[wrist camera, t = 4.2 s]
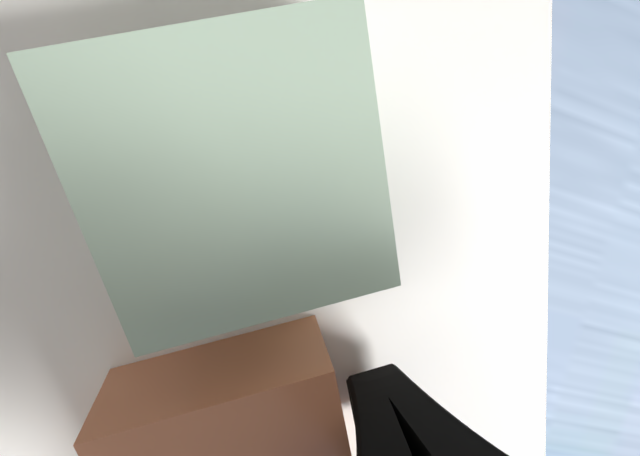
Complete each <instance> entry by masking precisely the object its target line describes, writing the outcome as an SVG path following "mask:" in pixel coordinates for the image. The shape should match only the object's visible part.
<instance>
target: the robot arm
mask: <svg viewBox="0 0 640 456" xmlns="http://www.w3.org/2000/svg"><path fill="white" fill-rule="evenodd" d="M346 383H347V388H348V393H349V398H350V403H351V409H352V414H353V419H354V424H355V431H356V453H357V455H356V456H509V455H507V454H506V453H504V452H503V451H501V450H500V449H498V448H497V447H495V446H494V445H493V444H491V443H490V442H488V441H487V440H486V439H484V438H483V437H481V436H480V435H479V434H477V433H476V432H474V431H473V430H472V429H470V428H469V427H468V426H466V425H465V424H464V423H462V422H461V421H460V420H459V419H457V418H456V417H455V416H454V415H452V414H451V413H450V412H449V411H447V410H446V409H445V408H444V407H442V406H441V405H440V404H439V403H437V402H436V401H435V400H434V399H433V398H431V397H430V396H429V395H428V394H427V393H426V392H424V391H423V390H422V389H421V388H420V387H419V386H418V385H416V384H415V383H414V382H413V381H412V380H411V379H410V378H409V377H408V376H407V375H406V374H404V373H403V372H402V371H401V370H400V369H399V368H398V367H397V366H396V365H394V364H388V365H385V366H381V367H378V368H374V369H371V370H368V371H364V372H361V373H357V374H354V375H350V376H349V377H348V379H347V380H346Z"/></svg>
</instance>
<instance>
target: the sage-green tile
mask: <svg viewBox="0 0 640 456" xmlns="http://www.w3.org/2000/svg"><path fill="white" fill-rule="evenodd" d="M6 54H7V57H8V59H9V61H10V64H11V66H12V68H13V71H14V73H15V76H16V78H17V80H18V83H19V85H20V87H21V90H22V92H23V94H24V97H25V99H26V101H27V104H28V106H29V109H30V111H31V113H32V116H33V118H34V120H35V123H36V125H37V127H38V130H39V132H40V135H41V137H42V139H43V142H44V144H45V146H46V149H47V151H48V153H49V156H50V158H51V160H52V163H53V165H54V168H55V170H56V172H57V175H58V177H59V179H60V182H61V184H62V186H63V189H64V191H65V194H66V196H67V198H68V201H69V203H70V205H71V208H72V210H73V212H74V215H75V217H76V219H77V222H78V224H79V227H80V229H81V231H82V234H83V236H84V238H85V241H86V243H87V245H88V248H89V250H90V253H91V255H92V257H93V260H94V262H95V264H96V267H97V269H98V271H99V274H100V276H101V278H102V281H103V283H104V286H105V288H106V290H107V293H108V295H109V297H110V300H111V302H112V304H113V307H114V309H115V312H116V314H117V316H118V319H119V321H120V323H121V326H122V328H123V330H124V333H125V335H126V337H127V340H128V342H129V345H130V347H131V349H132V352H133V354H134V356H135V357H139V356H143V355H146V354H150V353H154V352H157V351H161V350H165V349H169V348H172V347H176V346H180V345H183V344H187V343H191V342H194V341H198V340H202V339H205V338H209V337H213V336H217V335H220V334H224V333H228V332H231V331H235V330H239V329H242V328H246V327H250V326H253V325H257V324H261V323H265V322H268V321H272V320H276V319H279V318H283V317H287V316H290V315H294V314H298V313H302V312H305V311H309V310H313V309H316V308H320V307H324V306H327V305H331V304H335V303H338V302H342V301H346V300H350V299H353V298H357V297H361V296H364V295H368V294H372V293H375V292H379V291H383V290H386V289H390V288H394V287H398V286H401V280H400V273H399V265H398V257H397V250H396V242H395V234H394V227H393V219H392V211H391V204H390V196H389V188H388V181H387V173H386V165H385V158H384V150H383V142H382V135H381V127H380V119H379V111H378V104H377V96H376V88H375V81H374V73H373V65H372V58H371V50H370V42H369V35H368V27H367V19H366V12H365V4H364V0H312V1H306V2H300V3H295V4H289V5H283V6H277V7H271V8H265V9H260V10H254V11H248V12H242V13H236V14H230V15H225V16H219V17H213V18H207V19H201V20H196V21H190V22H184V23H178V24H172V25H166V26H161V27H155V28H149V29H143V30H137V31H131V32H126V33H120V34H114V35H108V36H102V37H96V38H91V39H85V40H79V41H73V42H67V43H61V44H56V45H50V46H44V47H38V48H32V49H27V50H21V51H15V52H9V53H6Z"/></svg>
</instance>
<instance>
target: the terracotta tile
mask: <svg viewBox="0 0 640 456" xmlns="http://www.w3.org/2000/svg"><path fill="white" fill-rule="evenodd" d="M73 447H74V449H75V450H76V452H77V454H78V456H352V455H351V450H350V445H349V440H348V435H347V430H346V425H345V420H344V415H343V410H342V405H341V400H340V395H339V390H338V385H337V380H336V375H335V371H334V368H333V365H332V362H331V359H330V356H329V354H328V351H327V348H326V345H325V342H324V339H323V337H322V334H321V331H320V328H319V325H318V322H317V320H316V317H315V315H312V316H309V317H305V318H301V319H297V320H294V321H290V322H286V323H282V324H278V325H275V326H271V327H267V328H263V329H259V330H256V331H252V332H248V333H244V334H240V335H237V336H233V337H229V338H225V339H222V340H218V341H214V342H210V343H206V344H203V345H199V346H195V347H191V348H187V349H184V350H180V351H176V352H172V353H168V354H165V355H161V356H157V357H153V358H149V359H146V360H142V361H138V362H134V363H131V364H127V365H123V366H119V367H115V368H112V369H110V370H109V372H108V374H107V376H106V378H105V380H104V382H103V384H102V387H101V389H100V391H99V393H98V395H97V397H96V399H95V401H94V403H93V405H92V407H91V409H90V411H89V413H88V416H87V418H86V420H85V422H84V424H83V426H82V428H81V430H80V432H79V434H78V436H77V438H76V440H75V442H74V445H73Z"/></svg>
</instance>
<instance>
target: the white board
mask: <svg viewBox="0 0 640 456" xmlns="http://www.w3.org/2000/svg"><path fill="white" fill-rule="evenodd" d="M306 1H312V0H0V456H78V454H77V452H76V450H75V449H74V447H73V445H74V442H75V440H76V438H77V436H78V434H79V432H80V430H81V428H82V426H83V424H84V422H85V420H86V418H87V416H88V413H89V411H90V409H91V407H92V405H93V403H94V401H95V399H96V397H97V395H98V393H99V391H100V389H101V387H102V384H103V382H104V380H105V378H106V376H107V374H108V372H109V370H110V369H112V368H115V367H119V366H123V365H127V364H131V363H134V362H138V361H142V360H146V359H149V358H153V357H157V356H161V355H165V354H168V353H172V352H176V351H180V350H184V349H187V348H191V347H195V346H199V345H203V344H206V343H210V342H214V341H218V340H222V339H225V338H229V337H233V336H237V335H240V334H244V333H248V332H252V331H256V330H259V329H263V328H267V327H271V326H275V325H278V324H282V323H286V322H290V321H294V320H297V319H301V318H305V317H309V316H312V315H315V317H316V320H317V322H318V325H319V328H320V331H321V334H322V337H323V339H324V342H325V345H326V348H327V351H328V354H329V356H330V359H331V362H332V365H333V368H334V371H335V375H336V380H337V385H338V390H339V395H340V400H341V405H342V410H343V415H344V420H345V425H346V430H347V435H348V440H349V445H350V450H351V455H352V456H356V455H357V453H356V431H355V424H354V419H353V414H352V409H351V403H350V398H349V393H348V388H347V383H346V380H347V379H348V377H349V376H350V375H354V374H357V373H361V372H364V371H368V370H371V369H374V368H378V367H381V366H385V365H388V364H394V365H396V366H397V367H398V368H399V369H400V370H401V371H402V372H403V373H404V374H406V375H407V376H408V377H409V378H410V379H411V380H412V381H413V382H414V383H415V384H416V385H418V386H419V387H420V388H421V389H422V390H423V391H424V392H426V393H427V394H428V395H429V396H430V397H431V398H433V399H434V400H435V401H436V402H437V403H439V404H440V405H441V406H442V407H444V408H445V409H446V410H447V411H449V412H450V413H451V414H452V415H454V416H455V417H456V418H457V419H459V420H460V421H461V422H462V423H464V424H465V425H466V426H468V427H469V428H470V429H472V430H473V431H474V432H476V433H477V434H479V435H480V436H481V437H483V438H484V439H486V440H487V441H488V442H490V443H491V444H493V445H494V446H495V447H497V448H498V449H500V450H501V451H503V452H504V453H506V454H507V455H509V456H545V447H546V379H547V312H548V244H549V176H550V108H551V41H552V0H364V4H365V12H366V19H367V27H368V35H369V42H370V50H371V58H372V65H373V73H374V81H375V88H376V96H377V104H378V111H379V119H380V127H381V135H382V142H383V150H384V158H385V165H386V173H387V181H388V188H389V196H390V204H391V211H392V219H393V227H394V234H395V242H396V250H397V257H398V265H399V273H400V280H401V286H398V287H394V288H390V289H386V290H383V291H379V292H375V293H372V294H368V295H364V296H361V297H357V298H353V299H350V300H346V301H342V302H338V303H335V304H331V305H327V306H324V307H320V308H316V309H313V310H309V311H305V312H302V313H298V314H294V315H290V316H287V317H283V318H279V319H276V320H272V321H268V322H265V323H261V324H257V325H253V326H250V327H246V328H242V329H239V330H235V331H231V332H228V333H224V334H220V335H217V336H213V337H209V338H205V339H202V340H198V341H194V342H191V343H187V344H183V345H180V346H176V347H172V348H169V349H165V350H161V351H157V352H154V353H150V354H146V355H143V356H139V357H135V356H134V354H133V352H132V349H131V347H130V345H129V342H128V340H127V337H126V335H125V333H124V330H123V328H122V326H121V323H120V321H119V319H118V316H117V314H116V312H115V309H114V307H113V304H112V302H111V300H110V297H109V295H108V293H107V290H106V288H105V286H104V283H103V281H102V278H101V276H100V274H99V271H98V269H97V267H96V264H95V262H94V260H93V257H92V255H91V253H90V250H89V248H88V245H87V243H86V241H85V238H84V236H83V234H82V231H81V229H80V227H79V224H78V222H77V219H76V217H75V215H74V212H73V210H72V208H71V205H70V203H69V201H68V198H67V196H66V194H65V191H64V189H63V186H62V184H61V182H60V179H59V177H58V175H57V172H56V170H55V168H54V165H53V163H52V160H51V158H50V156H49V153H48V151H47V149H46V146H45V144H44V142H43V139H42V137H41V135H40V132H39V130H38V127H37V125H36V123H35V120H34V118H33V116H32V113H31V111H30V109H29V106H28V104H27V101H26V99H25V97H24V94H23V92H22V90H21V87H20V85H19V83H18V80H17V78H16V76H15V73H14V71H13V68H12V66H11V64H10V61H9V59H8V57H7V54H6V53H9V52H15V51H21V50H27V49H32V48H38V47H44V46H50V45H56V44H61V43H67V42H73V41H79V40H85V39H91V38H96V37H102V36H108V35H114V34H120V33H126V32H131V31H137V30H143V29H149V28H155V27H161V26H166V25H172V24H178V23H184V22H190V21H196V20H201V19H207V18H213V17H219V16H225V15H230V14H236V13H242V12H248V11H254V10H260V9H265V8H271V7H277V6H283V5H289V4H295V3H300V2H306Z"/></svg>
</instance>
